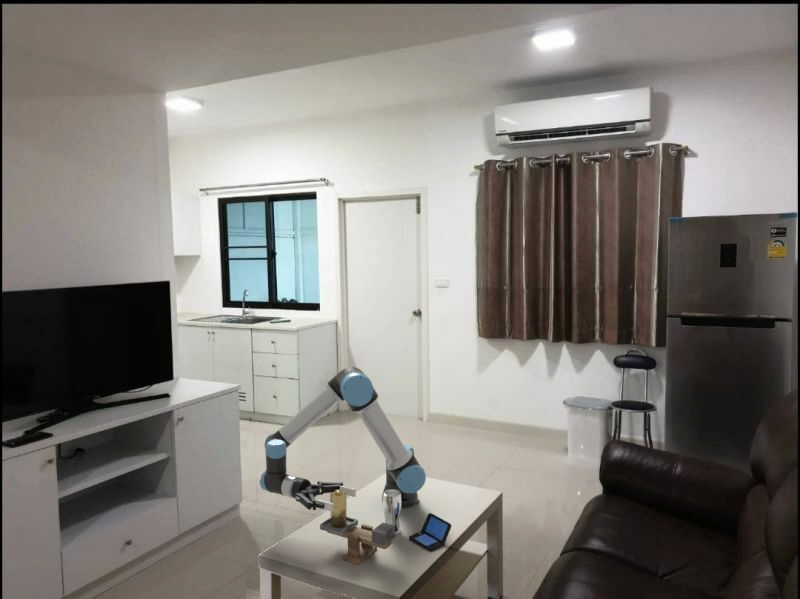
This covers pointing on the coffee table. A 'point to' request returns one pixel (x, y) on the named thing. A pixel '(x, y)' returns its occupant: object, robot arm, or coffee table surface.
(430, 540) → the handheld game console
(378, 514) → the coffee table surface
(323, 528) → the balance beam
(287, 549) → the coffee table surface
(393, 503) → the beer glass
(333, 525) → the brass weight
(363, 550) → the beam stand
